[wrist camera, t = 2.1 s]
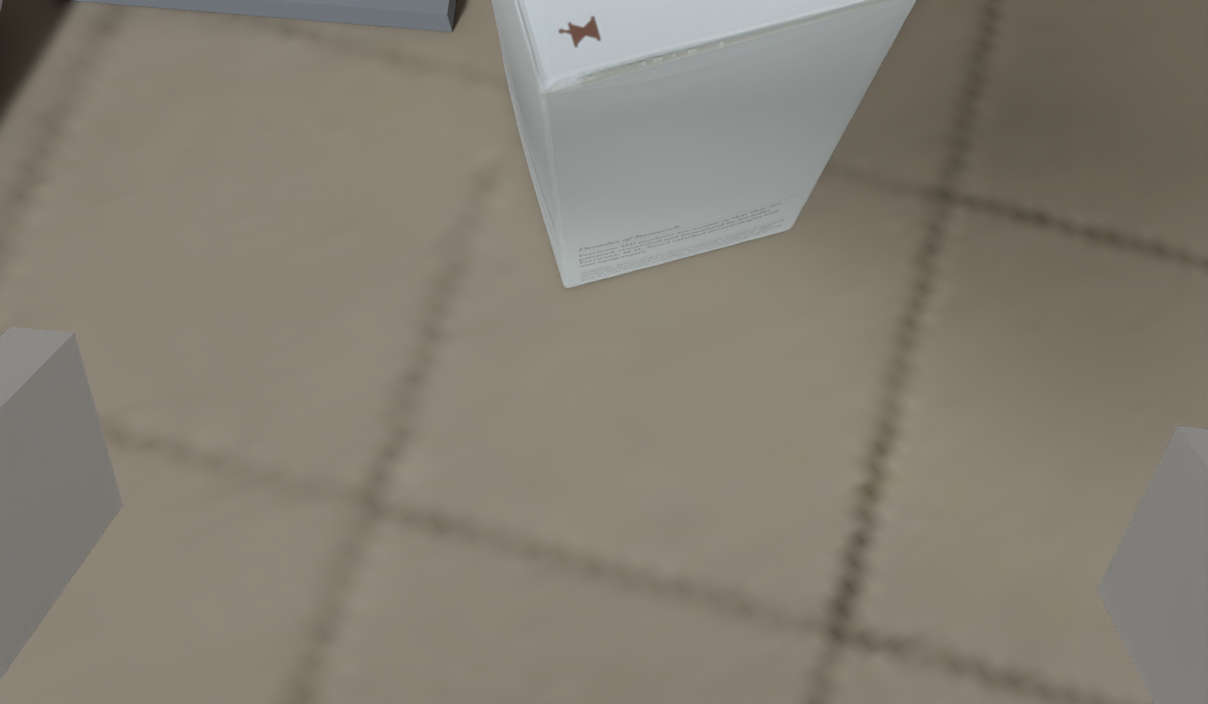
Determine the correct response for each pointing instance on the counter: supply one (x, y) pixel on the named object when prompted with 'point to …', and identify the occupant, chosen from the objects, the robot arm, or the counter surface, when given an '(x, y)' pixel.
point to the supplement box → (682, 116)
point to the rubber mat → (324, 10)
